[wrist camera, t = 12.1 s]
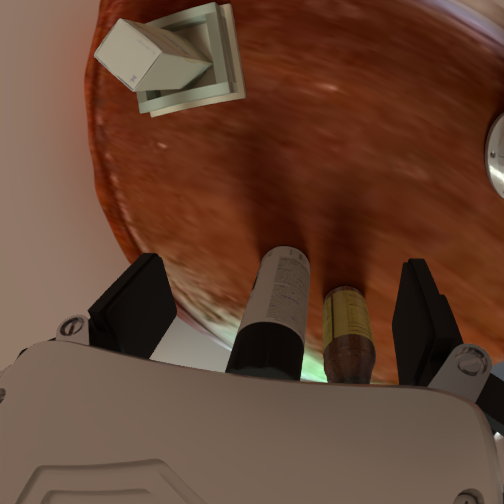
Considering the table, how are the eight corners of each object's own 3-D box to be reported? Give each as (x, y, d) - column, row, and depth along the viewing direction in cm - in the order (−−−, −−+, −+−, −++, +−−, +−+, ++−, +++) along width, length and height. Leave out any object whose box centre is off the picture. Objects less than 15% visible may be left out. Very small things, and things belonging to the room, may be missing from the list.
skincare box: (215, 63, 29) (166, 52, 19) (190, 90, 31) (133, 94, 21) (179, 33, 28) (120, 15, 17) (155, 60, 30) (91, 55, 20)
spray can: (255, 248, 41) (208, 365, 24) (305, 239, 39) (289, 361, 22) (269, 289, 44) (235, 409, 26) (316, 282, 41) (306, 407, 24)
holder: (231, 5, 26) (220, -5, 22) (246, 97, 31) (237, 98, 28) (140, 32, 29) (121, 28, 25) (154, 116, 34) (136, 120, 31)
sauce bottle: (338, 323, 44) (337, 442, 27) (314, 297, 43) (302, 420, 26) (375, 302, 41) (391, 423, 24) (352, 273, 40) (363, 399, 23)
